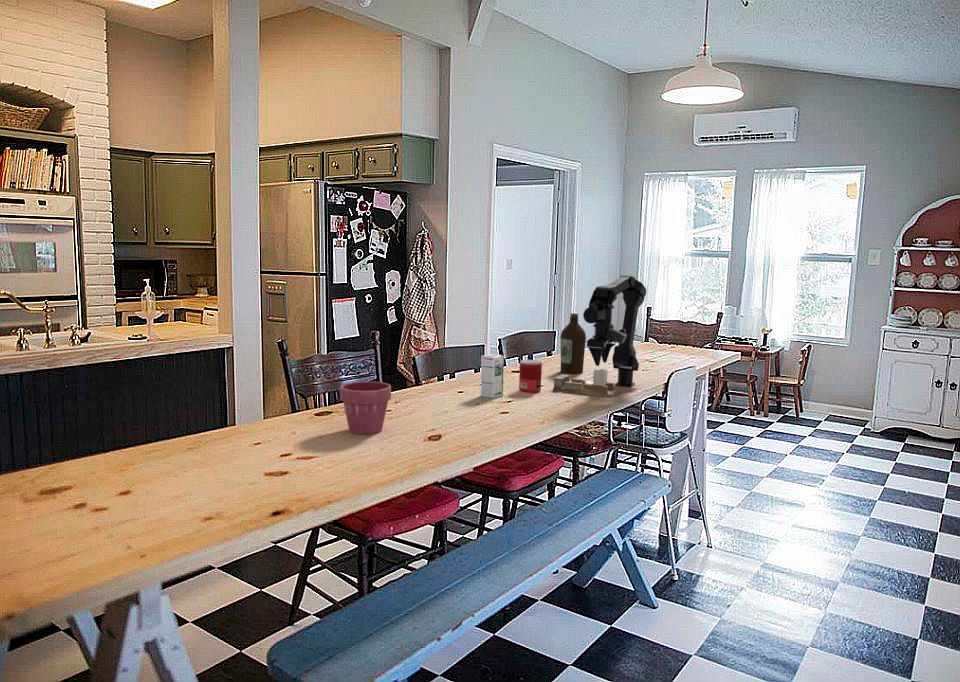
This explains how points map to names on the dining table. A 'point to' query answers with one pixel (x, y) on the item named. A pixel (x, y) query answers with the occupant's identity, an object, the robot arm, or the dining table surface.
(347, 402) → the plant pot
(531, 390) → the canned food
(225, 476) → the dining table surface
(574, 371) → the olive oil
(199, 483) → the dining table surface
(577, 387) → the gauge bench
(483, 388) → the syrup box
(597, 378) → the pale grey cube box
